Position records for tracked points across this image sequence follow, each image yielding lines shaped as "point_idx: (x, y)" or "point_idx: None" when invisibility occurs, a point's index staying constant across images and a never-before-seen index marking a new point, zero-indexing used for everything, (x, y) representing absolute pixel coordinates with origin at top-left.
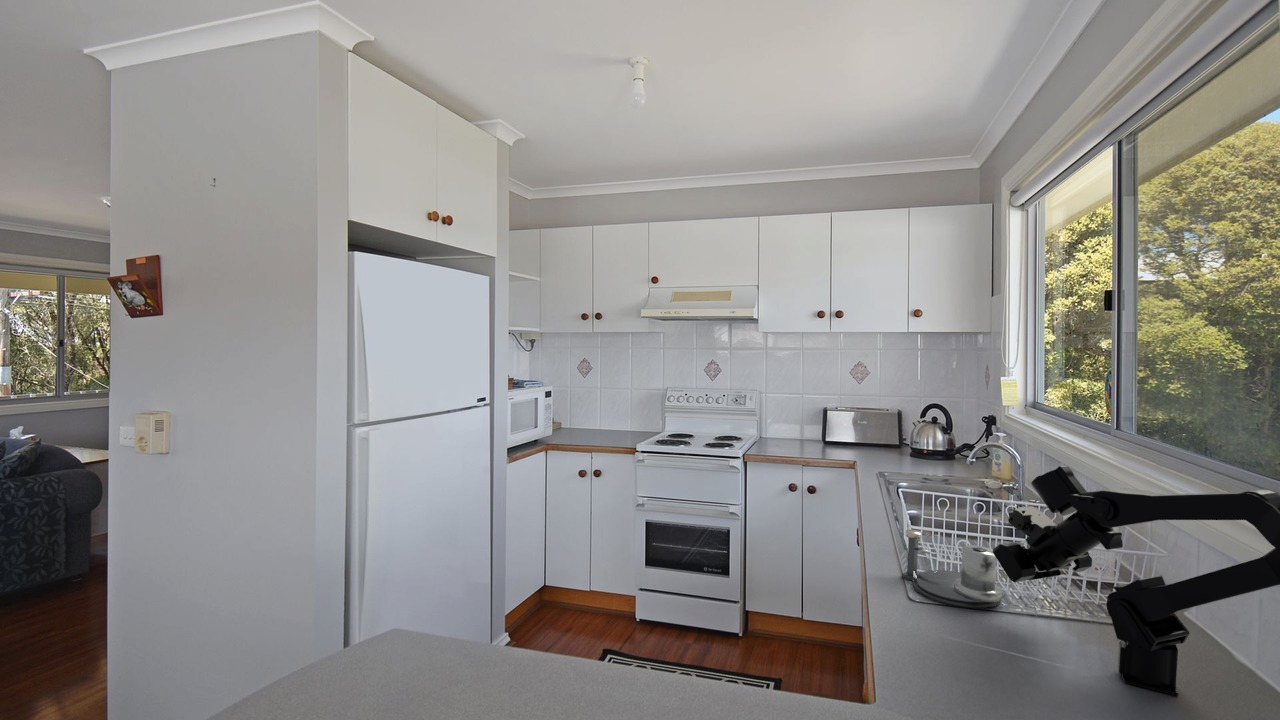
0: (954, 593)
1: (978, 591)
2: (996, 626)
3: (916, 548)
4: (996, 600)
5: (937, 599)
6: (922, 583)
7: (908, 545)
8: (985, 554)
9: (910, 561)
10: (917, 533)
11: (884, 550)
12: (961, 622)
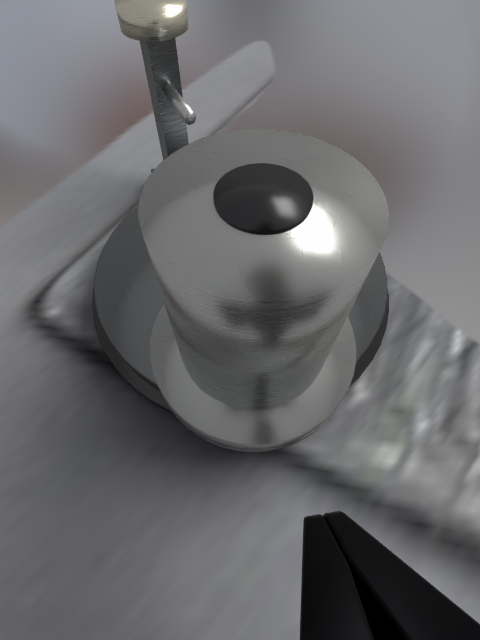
0: (149, 340)
1: (198, 398)
2: (141, 620)
3: (165, 88)
4: (271, 449)
5: (98, 336)
6: (108, 247)
7: (146, 70)
8: (235, 274)
9: (160, 136)
10: (146, 10)
11: (254, 66)
12: (18, 535)
